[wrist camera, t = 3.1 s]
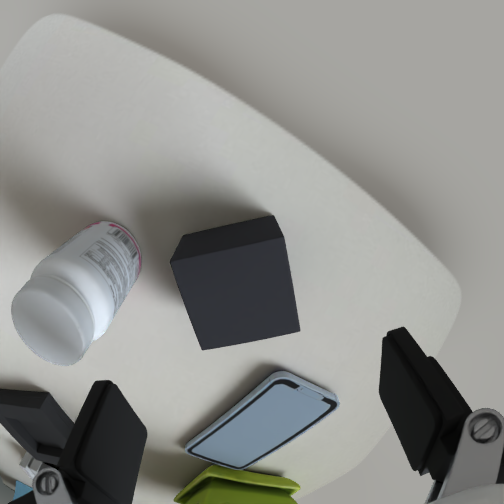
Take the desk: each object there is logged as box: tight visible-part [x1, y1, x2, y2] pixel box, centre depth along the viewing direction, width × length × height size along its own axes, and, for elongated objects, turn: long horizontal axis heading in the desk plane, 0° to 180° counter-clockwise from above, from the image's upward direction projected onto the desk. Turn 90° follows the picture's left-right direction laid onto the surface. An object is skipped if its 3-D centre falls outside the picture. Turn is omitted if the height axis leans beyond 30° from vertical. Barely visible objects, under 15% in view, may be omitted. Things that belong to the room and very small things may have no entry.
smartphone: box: [185, 371, 340, 470], centre depth 24 cm, size 7×1×15 cm
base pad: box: [0, 389, 74, 465], centre depth 24 cm, size 12×12×2 cm
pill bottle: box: [11, 221, 142, 366], centre depth 14 cm, size 5×5×8 cm
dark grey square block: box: [170, 215, 300, 350], centre depth 17 cm, size 6×6×4 cm
